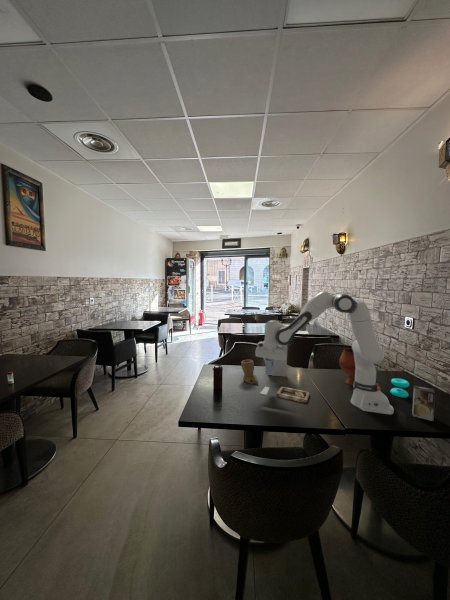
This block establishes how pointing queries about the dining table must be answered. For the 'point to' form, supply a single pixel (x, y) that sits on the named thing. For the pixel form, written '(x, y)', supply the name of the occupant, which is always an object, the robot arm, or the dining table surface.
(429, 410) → the grey picture frame
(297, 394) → the offcut upper
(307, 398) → the wooden tray
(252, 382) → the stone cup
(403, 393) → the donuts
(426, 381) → the dining table surface
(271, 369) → the blue grey block
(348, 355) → the terracotta vase
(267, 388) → the mat
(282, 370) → the grey box
